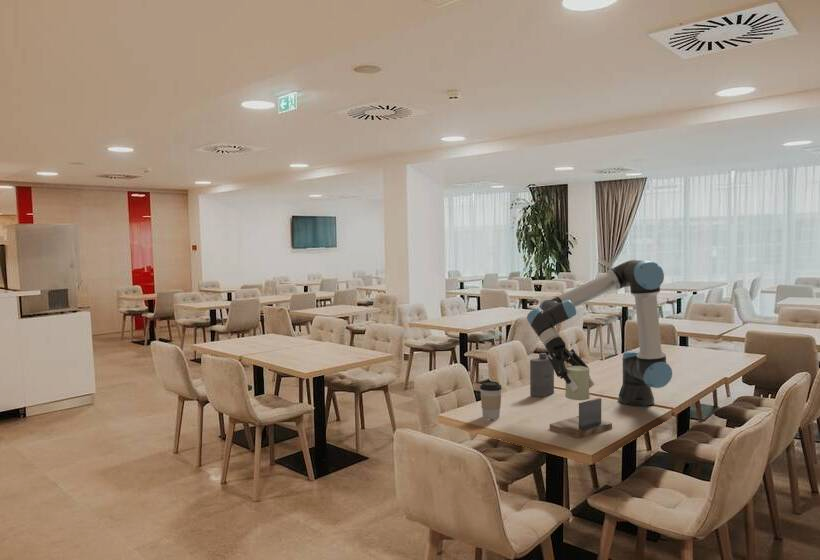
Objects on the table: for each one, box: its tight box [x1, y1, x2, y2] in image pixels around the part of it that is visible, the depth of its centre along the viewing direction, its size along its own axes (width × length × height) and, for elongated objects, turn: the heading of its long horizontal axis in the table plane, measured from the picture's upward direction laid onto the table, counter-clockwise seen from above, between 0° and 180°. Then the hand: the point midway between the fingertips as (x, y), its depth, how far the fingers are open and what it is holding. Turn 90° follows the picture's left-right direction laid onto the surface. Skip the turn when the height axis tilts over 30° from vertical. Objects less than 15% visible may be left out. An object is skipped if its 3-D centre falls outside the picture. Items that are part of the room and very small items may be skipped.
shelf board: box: [549, 415, 613, 439], centre depth 226 cm, size 20×14×2 cm
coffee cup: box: [479, 380, 503, 420], centre depth 242 cm, size 9×9×15 cm
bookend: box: [578, 397, 606, 431], centre depth 221 cm, size 12×3×10 cm, turn 124°
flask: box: [529, 352, 555, 399], centre depth 276 cm, size 15×6×20 cm, turn 130°
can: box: [564, 365, 590, 401], centre depth 226 cm, size 9×9×12 cm
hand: (584, 387), depth 224 cm, fingers closed on can, 9 cm apart
